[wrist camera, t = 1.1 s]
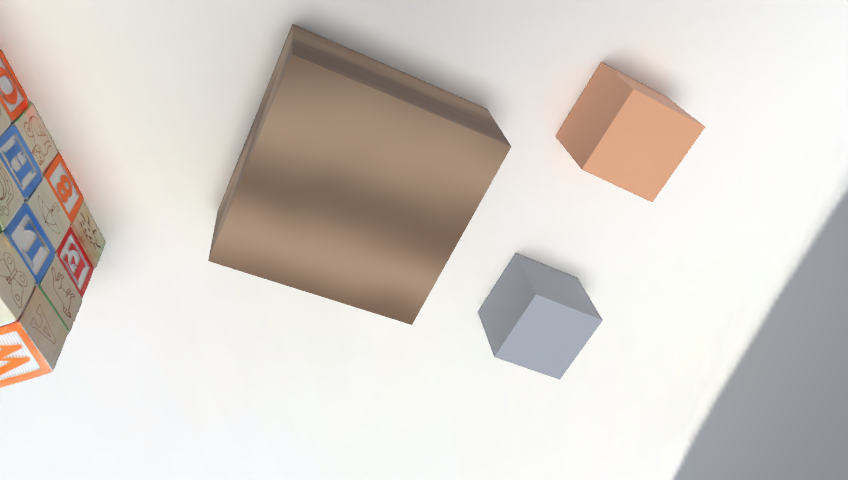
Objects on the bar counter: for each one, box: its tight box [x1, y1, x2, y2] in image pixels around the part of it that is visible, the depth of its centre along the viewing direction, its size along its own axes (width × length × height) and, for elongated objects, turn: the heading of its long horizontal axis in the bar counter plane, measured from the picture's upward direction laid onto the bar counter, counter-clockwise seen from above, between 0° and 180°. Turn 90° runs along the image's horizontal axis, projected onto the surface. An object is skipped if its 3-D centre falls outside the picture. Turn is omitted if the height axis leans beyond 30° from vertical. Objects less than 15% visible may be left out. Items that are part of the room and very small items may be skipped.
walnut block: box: [208, 24, 511, 325], centre depth 42 cm, size 12×12×6 cm
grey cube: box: [478, 253, 602, 379], centre depth 49 cm, size 5×5×5 cm
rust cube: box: [556, 62, 705, 202], centre depth 44 cm, size 5×5×5 cm
